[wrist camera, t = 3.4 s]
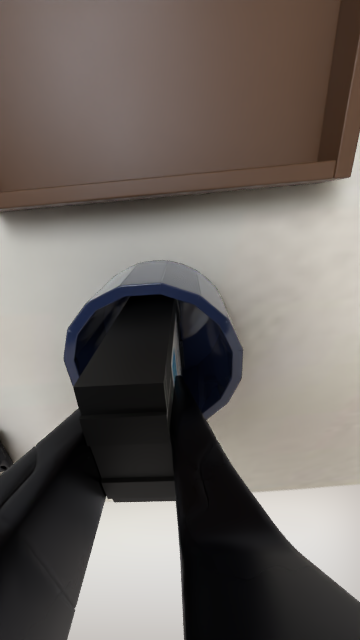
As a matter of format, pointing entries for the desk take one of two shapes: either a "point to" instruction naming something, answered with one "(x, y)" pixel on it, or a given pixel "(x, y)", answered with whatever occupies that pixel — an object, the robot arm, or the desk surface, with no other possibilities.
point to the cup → (195, 328)
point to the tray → (174, 97)
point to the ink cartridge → (134, 400)
